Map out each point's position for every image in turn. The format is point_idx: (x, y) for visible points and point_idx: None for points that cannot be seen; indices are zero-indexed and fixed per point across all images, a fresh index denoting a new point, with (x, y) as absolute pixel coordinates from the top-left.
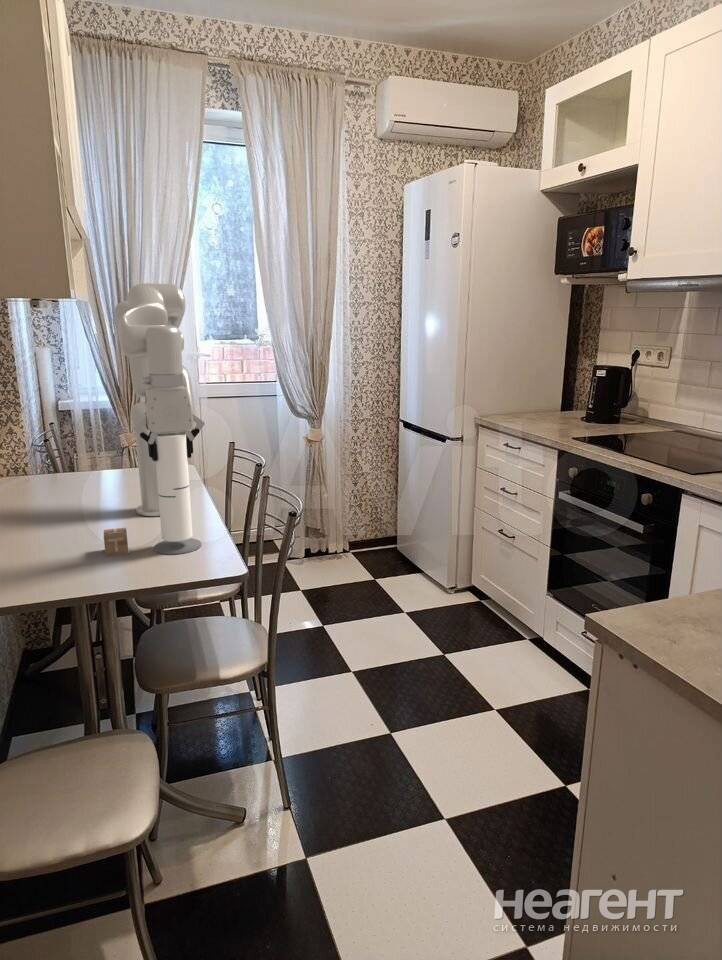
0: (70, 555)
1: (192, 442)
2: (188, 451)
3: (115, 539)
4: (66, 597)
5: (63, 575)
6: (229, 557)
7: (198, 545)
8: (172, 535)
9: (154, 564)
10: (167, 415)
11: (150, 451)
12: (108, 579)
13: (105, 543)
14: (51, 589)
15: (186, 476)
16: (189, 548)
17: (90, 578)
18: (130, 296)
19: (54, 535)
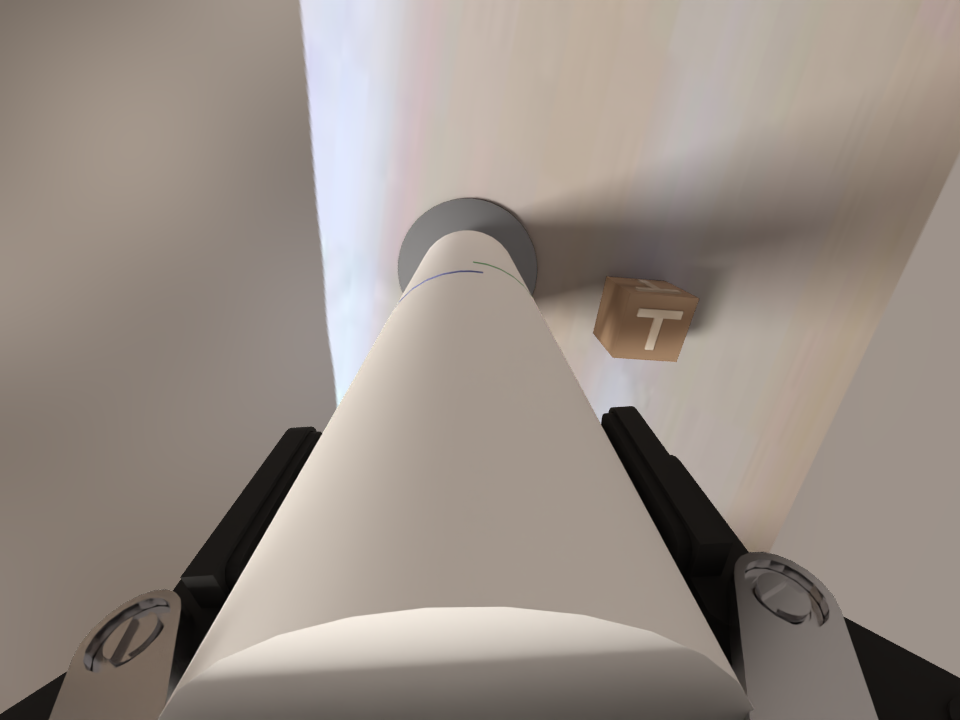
0: (736, 328)
1: (182, 581)
2: (290, 469)
3: (659, 290)
4: None
5: (816, 164)
6: (320, 78)
7: (409, 242)
8: (490, 238)
9: (566, 133)
10: None
11: (698, 490)
12: (729, 47)
13: (682, 291)
14: (898, 38)
15: (386, 324)
16: (439, 226)
17: (768, 90)
18: None
19: (713, 479)
